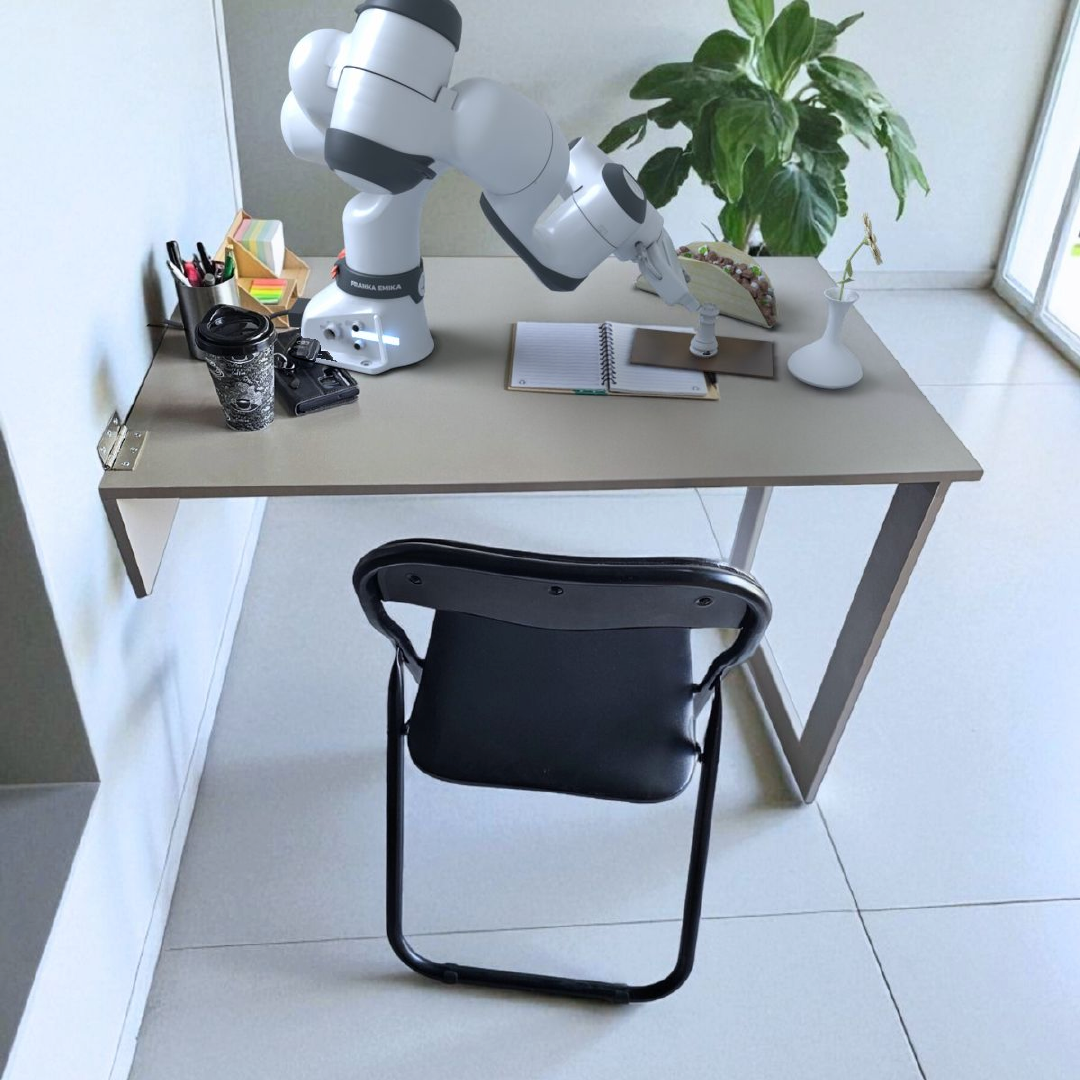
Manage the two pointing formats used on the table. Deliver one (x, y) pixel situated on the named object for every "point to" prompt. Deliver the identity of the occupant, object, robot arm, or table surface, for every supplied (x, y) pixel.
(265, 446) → the table surface
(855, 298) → the flower in vase
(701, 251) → the taco
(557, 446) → the table surface
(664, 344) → the brown wooden board
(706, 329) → the rook chess piece
